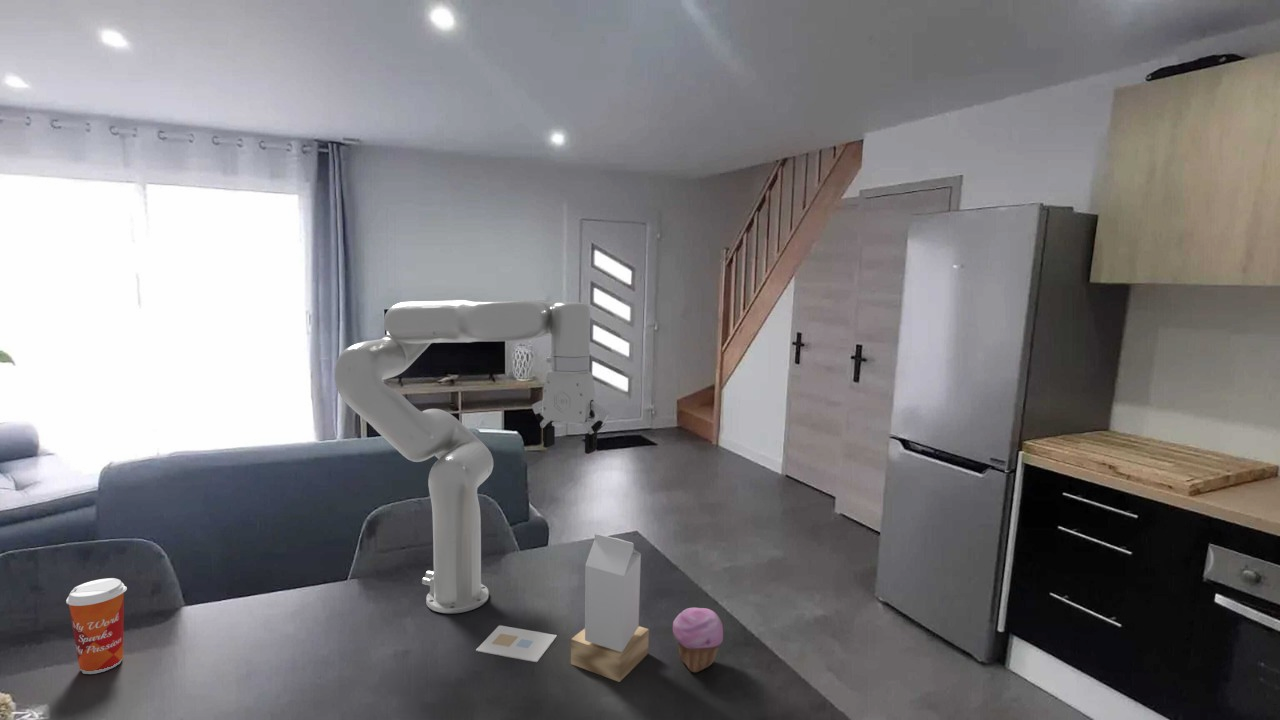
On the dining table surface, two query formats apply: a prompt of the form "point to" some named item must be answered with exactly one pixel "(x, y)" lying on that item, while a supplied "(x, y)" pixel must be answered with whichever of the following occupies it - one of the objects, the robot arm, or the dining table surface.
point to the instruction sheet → (517, 643)
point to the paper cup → (98, 622)
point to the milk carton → (612, 592)
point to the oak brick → (609, 655)
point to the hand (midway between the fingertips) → (569, 449)
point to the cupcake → (698, 637)
